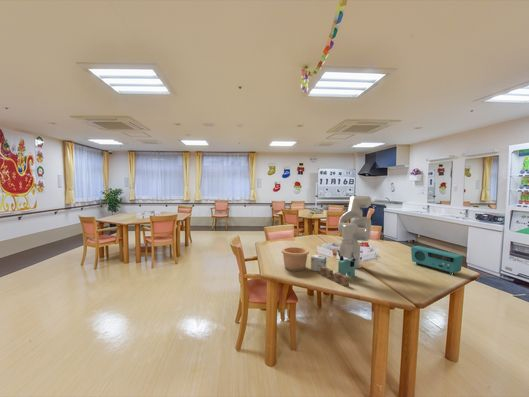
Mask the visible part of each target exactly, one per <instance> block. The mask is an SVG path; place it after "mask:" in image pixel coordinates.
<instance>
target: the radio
mask: <svg viewBox="0 0 529 397" xmlns="http://www.w3.org/2000/svg"><path fill="white" fill-rule="evenodd" d="M410 251H411V261H412V262H414V263H415V264H419V263H420V264H419V265H423V266H428V267H431V268H435V269H439V270H442V271H445V272H449V274H450V275H451V274H452V273H455V274H456V273H458V272H461V270H462V265H463V260H464V255H462V254H458V253H453V252H448V251H443V250H440V249H435V248H430V247H425V246H421V245H414V246H411V247H410Z"/></svg>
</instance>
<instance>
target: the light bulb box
mask: <svg viewBox="0 0 529 397" xmlns="http://www.w3.org/2000/svg"><path fill="white" fill-rule="evenodd" d="M322 266H324V267H327V256H324V255H316V254H312V255H311V256H310V270H311V271H316V272H320V267H322Z"/></svg>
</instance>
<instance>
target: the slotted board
mask: <svg viewBox="0 0 529 397" xmlns="http://www.w3.org/2000/svg"><path fill="white" fill-rule="evenodd" d="M319 273H320V274H319V275H320V276H323V277H324V278H327V279H329V280H330V281H332V282H335V283H337V284H339V285H341V286H344V287H348V286H349V283H350V282H349V280H350V278H349V277H350V276H347V274H346V275H343V274H341V273H339V272H338V271H337V272H334V270H333V269H331V268H329V267H327V266H326V267H324V266H322V267H320V271H319Z"/></svg>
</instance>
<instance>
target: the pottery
mask: <svg viewBox="0 0 529 397" xmlns="http://www.w3.org/2000/svg"><path fill="white" fill-rule="evenodd" d="M281 253H282V254H283V255H282V256H283V263H284V269H286V270H288V271H291V272H301V271H304V270H305V269H306V266H307V259H308V255H309V253H310V250H309V249H307V248H304V247H300V246H289V247H283V248H282V249H281Z"/></svg>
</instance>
